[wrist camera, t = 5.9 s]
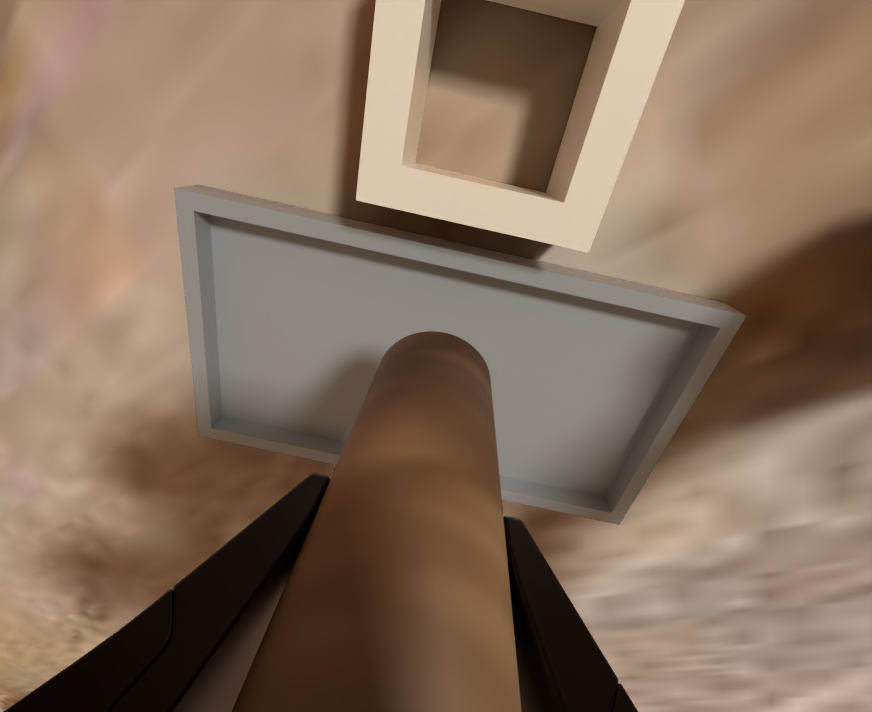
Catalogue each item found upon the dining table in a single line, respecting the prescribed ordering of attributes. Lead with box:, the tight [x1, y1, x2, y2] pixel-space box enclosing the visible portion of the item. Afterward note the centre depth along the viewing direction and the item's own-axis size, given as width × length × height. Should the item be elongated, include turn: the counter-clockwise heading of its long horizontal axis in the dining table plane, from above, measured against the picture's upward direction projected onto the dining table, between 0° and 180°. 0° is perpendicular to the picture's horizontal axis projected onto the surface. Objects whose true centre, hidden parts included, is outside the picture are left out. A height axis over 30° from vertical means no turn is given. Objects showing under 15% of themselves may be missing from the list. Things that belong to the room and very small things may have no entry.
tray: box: [174, 185, 746, 525], centre depth 22 cm, size 26×14×2 cm, turn 79°
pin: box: [232, 331, 521, 712], centre depth 9 cm, size 4×4×12 cm
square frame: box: [356, 0, 685, 253], centre depth 15 cm, size 9×9×4 cm
